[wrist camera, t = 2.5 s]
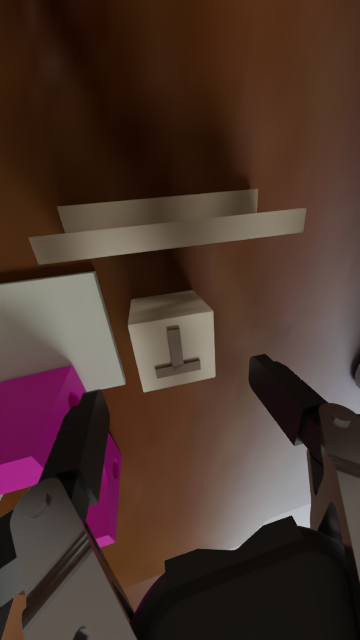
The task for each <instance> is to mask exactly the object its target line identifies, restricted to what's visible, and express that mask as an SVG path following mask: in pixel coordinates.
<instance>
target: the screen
mask: <svg viewBox="0 0 360 640" xmlns="http://www.w3.org/2000/svg"><path fill="white" fill-rule="evenodd" d="M257 199H258V189H250V190H239V191H228V192H216V193H205V194H194V195H183V196H171V197H160V198H149V199H137V200H126V201H115V202H104V203H92V204H81V205H70V206H59V207H57V209H58V212H59V215H60V218H61V221H62V225H63V228H64V231H65V234H56V235H47V236H37V237H28V238H29V241H30V243H31V246H32V248H33V251H34V254H35V256H36V259H37V261H38V264H39V265H41V264H49V263H57V262H65V261H73V260H81V259H90V258H98V257H106V256H114V255H122V254H130V253H138V252H146V251H154V250H162V249H171V248H179V247H187V246H195V245H203V244H211V243H219V242H227V241H235V240H243V239H252V238H260V237H268V236H276V235H284V234H292V233H300V232H303V228H304V221H305V215H306V208H301V209H292V210H283V211H273V212H264V213H257Z"/></svg>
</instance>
